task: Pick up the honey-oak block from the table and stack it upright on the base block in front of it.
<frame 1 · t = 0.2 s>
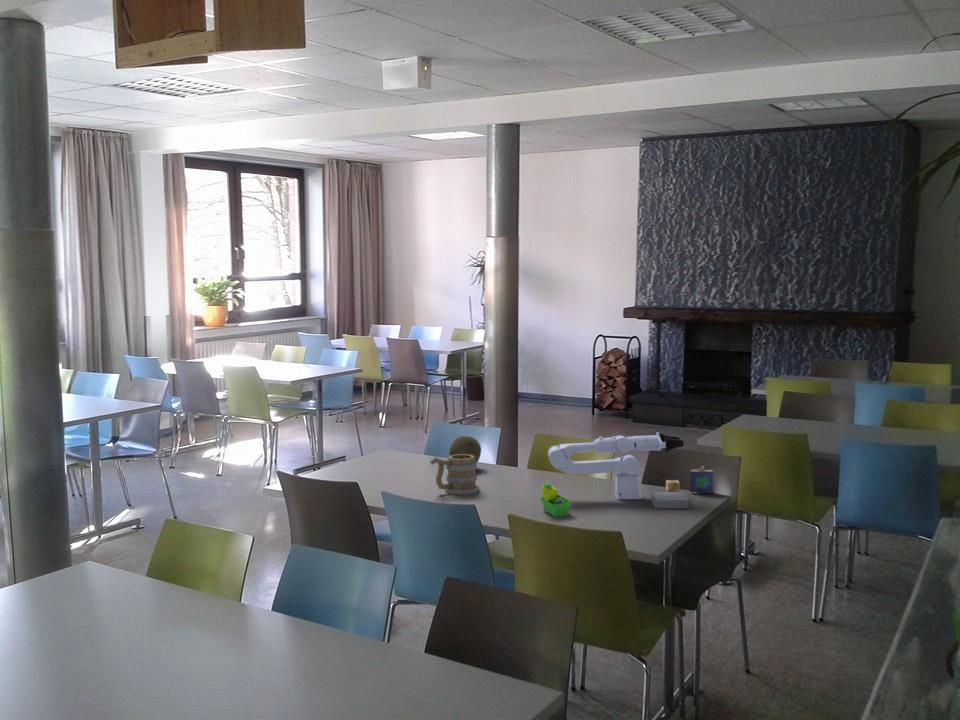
hand: (681, 441, 335), 21 cm above the table, tool horizontal, fingers open, 7 cm apart
flask: (701, 493, 341), on the table
oak block: (672, 496, 337), on the table
tankard: (453, 492, 352), on the table
fruit basket: (554, 513, 317), on the table
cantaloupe: (465, 470, 393), on the table
base block: (669, 504, 326), on the table
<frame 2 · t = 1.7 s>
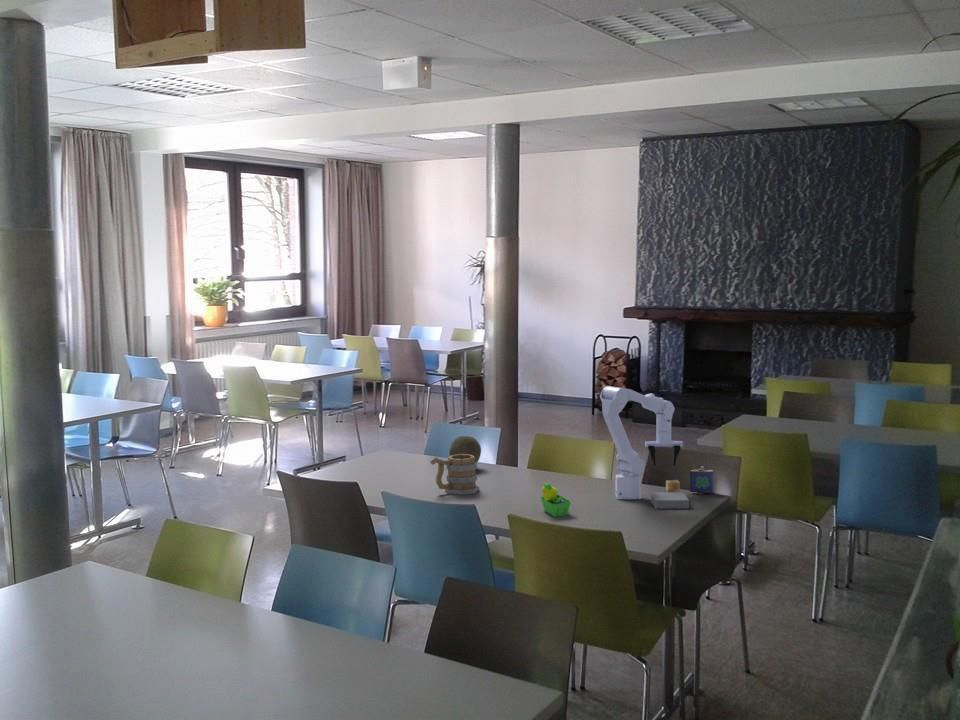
hand: (663, 464, 345), 10 cm above the table, tool pointing down, fingers open, 7 cm apart
nothing on the table moved.
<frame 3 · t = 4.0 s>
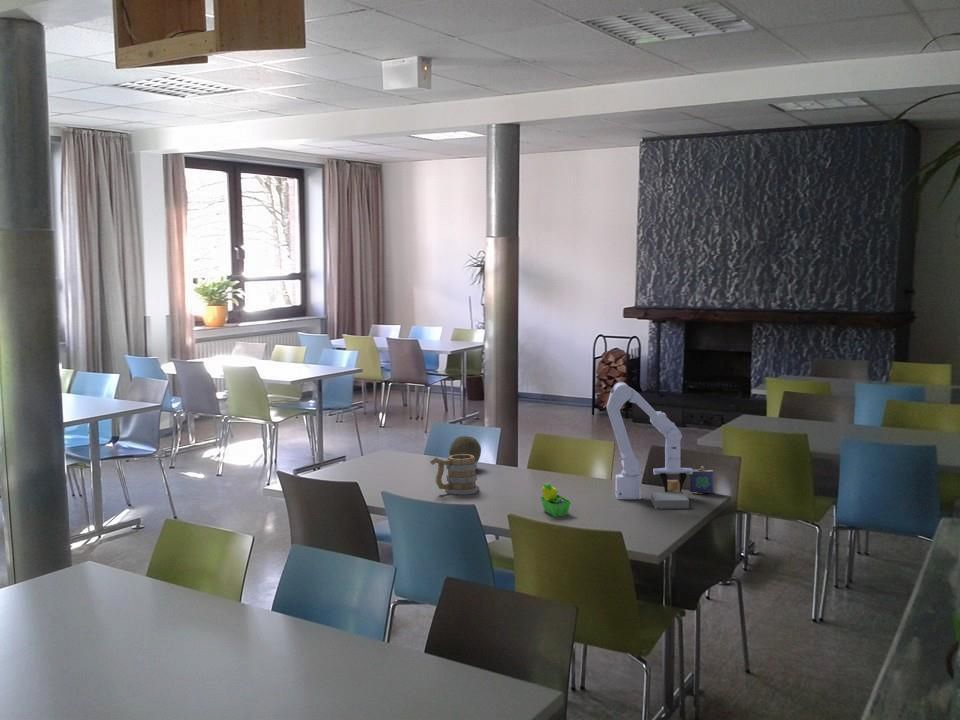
hand: (672, 492, 337), 2 cm above the table, tool pointing down, fingers closed on oak block, 4 cm apart
oak block: (672, 496, 337), on the table, touching gripper
everything else where it was.
when the fingers open (6 cm above the table, at t = 7.6 s): oak block stays where it is, resting on base block.
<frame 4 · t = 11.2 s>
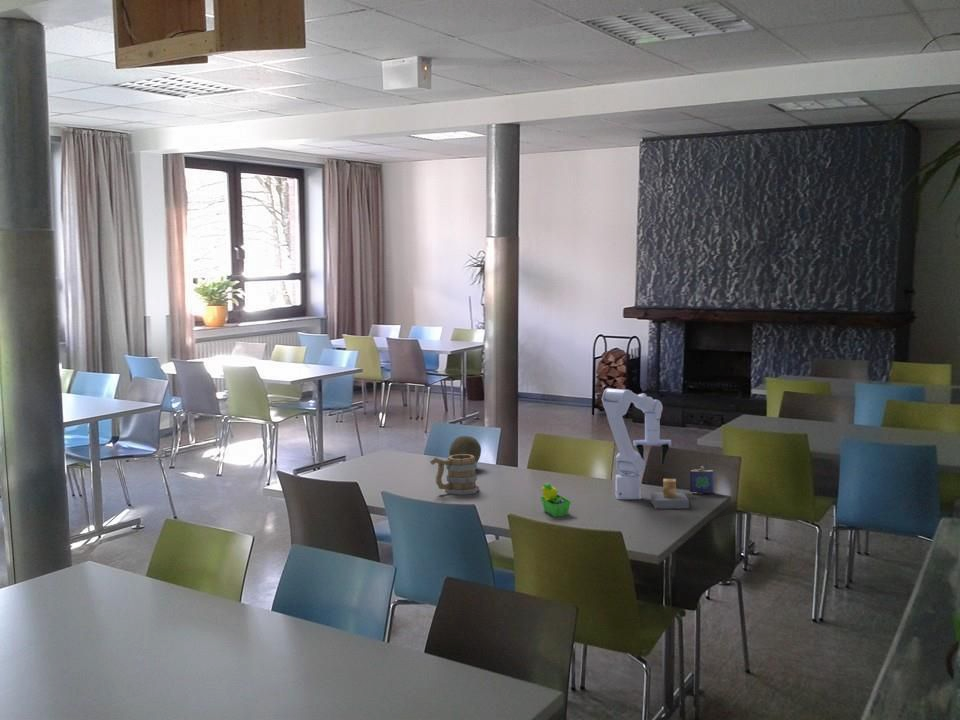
hand: (652, 463, 348), 10 cm above the table, tool pointing down, fingers open, 7 cm apart
oak block: (669, 496, 326), point 3 cm above the table, touching base block
everything else where it was.
at the end: oak block inside the target area on the base block (0.2 cm from its centre), point 3.0 cm above the base block's base; oak block tilted 0°; the gripper is holding nothing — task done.
